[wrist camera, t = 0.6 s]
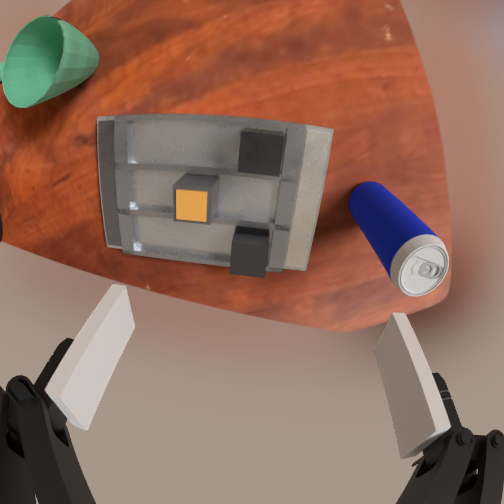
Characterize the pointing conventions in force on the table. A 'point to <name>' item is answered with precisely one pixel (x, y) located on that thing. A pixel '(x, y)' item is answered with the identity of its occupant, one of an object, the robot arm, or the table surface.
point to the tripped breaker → (195, 199)
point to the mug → (46, 61)
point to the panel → (229, 192)
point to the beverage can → (399, 239)
